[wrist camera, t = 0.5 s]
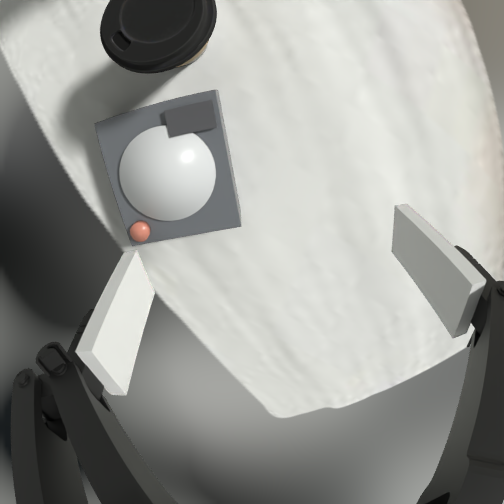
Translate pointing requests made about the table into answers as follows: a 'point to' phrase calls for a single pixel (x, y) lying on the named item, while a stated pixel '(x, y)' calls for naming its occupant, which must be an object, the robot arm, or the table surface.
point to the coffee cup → (157, 32)
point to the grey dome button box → (171, 168)
